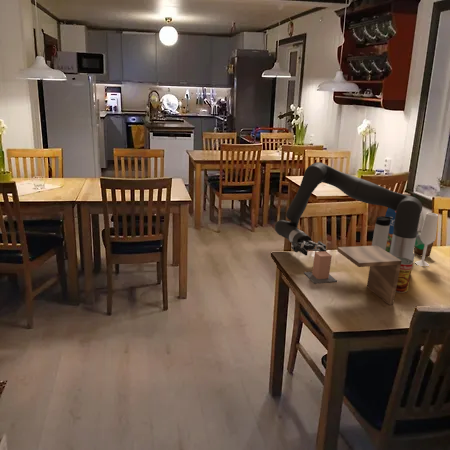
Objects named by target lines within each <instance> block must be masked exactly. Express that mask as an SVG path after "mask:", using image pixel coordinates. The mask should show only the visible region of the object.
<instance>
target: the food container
mask: <svg viewBox="0 0 450 450" xmlns="http://www.w3.org/2000/svg"><path fill="white" fill-rule="evenodd" d="M421 230H422V229H420V230H417V236H416V241H415V246H414V251H413V253H414V254H415V253H416V254H415V255H417V254H418V256H420V255H423V250H424V245H425V244H424V243H423V242H422V241H421V239H420V233H421ZM433 245H434V242H432V243H431V244H428V245H427V250H426V254H425V256H429V257H430V256H431V252H432V249H433Z"/></svg>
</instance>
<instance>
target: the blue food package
mask: <svg viewBox="0 0 450 450" xmlns="http://www.w3.org/2000/svg"><path fill="white" fill-rule="evenodd" d="M395 215H396V211H395V210H393V209H390V208H388V207H387V209H386V212H385V215H384V216H386V217H391V218H392V219H391V221H390V227H389V233H388V239H387V244H386V250H385V251H387V252H388V253H390V248H391V242H392V237H393V231H394V222H395Z"/></svg>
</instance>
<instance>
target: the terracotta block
mask: <svg viewBox="0 0 450 450" xmlns="http://www.w3.org/2000/svg"><path fill="white" fill-rule="evenodd" d="M332 257H333V256H332V255H331V254H330V252H328V251H321V252H320V251H314V257H313V264H312V271H311V272H312V275H314V276H315V277H316V278H317V279H329V274H330V272H331V264H332Z"/></svg>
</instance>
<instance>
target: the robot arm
mask: <svg viewBox="0 0 450 450" xmlns="http://www.w3.org/2000/svg"><path fill="white" fill-rule="evenodd" d="M323 183H324V184H327V185H329V186H333V187H335V188H336V189H338V190H339V191H341V192H342V193H343V194H345V195H346V196H348V197H349V198H352V199H354V200H356V201H359V202H361V203H365V204H369V205H373V206H382V207H385V208H387V209H388V208H390V209H393V210H395V211H396V215H395V222H394V231H393V237H392V242H391V248H390V254H391V255H393V256H395V257H404V258H408V259H410V260H412V261H413V262H414V260H415V257H416V256H415V255H416V254H415V253H414V246H415V241H416V236H417V231H418V228H419V223H420V216H421V213H422V211H423V204H422V202H421V200H420V199H418V198H416V197H415V196H412V195H407V194H402V193H400V192H397V191H393V190H390V189H388V188H386V187H384V186H381V185H379V184H377V183H374V182H371V181H369V180H367V179H364V178H361V177H357V176H355V175H352V174H349V173H345V172H342V171H340V170H338V169H335V168H334V167H332V166H331V165H328V164H326V163H323V162H314V163H312V164H310V165H309V166H307V167H306V169H305V170H304V173H303V176H302V178H301V182H300V185H299V187H298V190H297V192H296V193H295V195H294V198H293V199H292V201H291V203H290V204H289V206H288V209H287V210H286V213H285V216H286V218H287V219H288V220H284V219H280V220H277V221H276V223H275V224H274V231H275V232H276V234H277V235H279V236H280V237H283V238H285V239H287V240H288V241H289V242H290V243H291V246H290V247H291V250H293V252H295V253H298V252H299V253H301V254H302V255H304V256H308V254H309V253H308V251H314V252H321V251H326V252H328V251H327V245H326V244H325V243H324V242H322V241H320V240H318V241H317V242H315V241H314V240H312V238H311V236H310V235H308V234H307V233H306V232H304V231H303V230H301V229H299V228H298V226H299V224H300V219H301V217H302V215H303V214H304V212H305V210H306V208H307V206H308V202H309V200H310V197H311V196H312V194H313V192H314V191H315V190H316V188H317V187H318V186H319V185H320V184H323ZM289 220H290V221H289ZM413 265H414V264H413ZM413 265H412V267H413Z"/></svg>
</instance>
